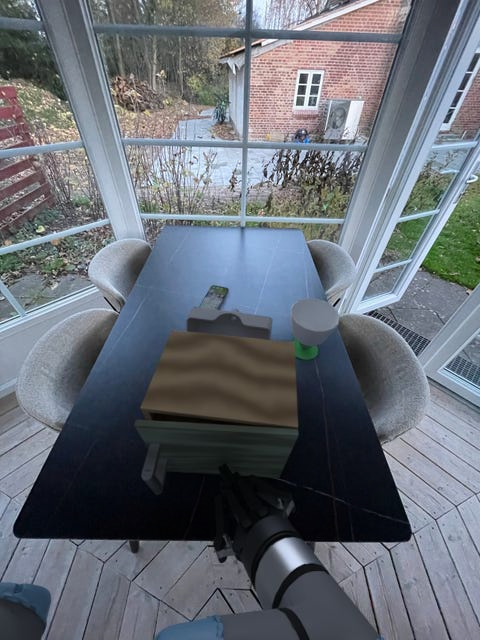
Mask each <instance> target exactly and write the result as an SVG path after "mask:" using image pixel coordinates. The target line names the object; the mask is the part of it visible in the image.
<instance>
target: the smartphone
mask: <svg viewBox="0 0 480 640" xmlns="http://www.w3.org/2000/svg"><path fill="white" fill-rule="evenodd" d="M228 294H229V288H228V287H226V286H219V285H214V284H213V285H211V286H210V287H209V289H208V290H207V292H206V294H205V296H204V297H203V298H202V300H201V302H200V305H199V306H198V307H202V308H209V309H216V310H221V307H222V305H223V303H224V301H225V299H226V297H227V295H228Z"/></svg>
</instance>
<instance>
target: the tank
mask: <svg viewBox="0 0 480 640" xmlns="http://www.w3.org/2000/svg"><path fill="white" fill-rule="evenodd" d="M185 323H186V325H185V327H186V328H185V329H186V330H185V332H194V333H204V334H214V335H224V336H234V337H244V338H254V339H264V340H271V338H272V337H271V336H272V329H273V328H272V327H273V318H272V317H270V316H266V315H259V314H252V313H247V312H246V313H245V312H240V310H239V309H238V308H232V309H231V311H230V310H222V309H219V310H216V309H209V308H202V307H199V306H192V307H191V309H190V311H189V313H188V315H187V318H186V321H185Z"/></svg>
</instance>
